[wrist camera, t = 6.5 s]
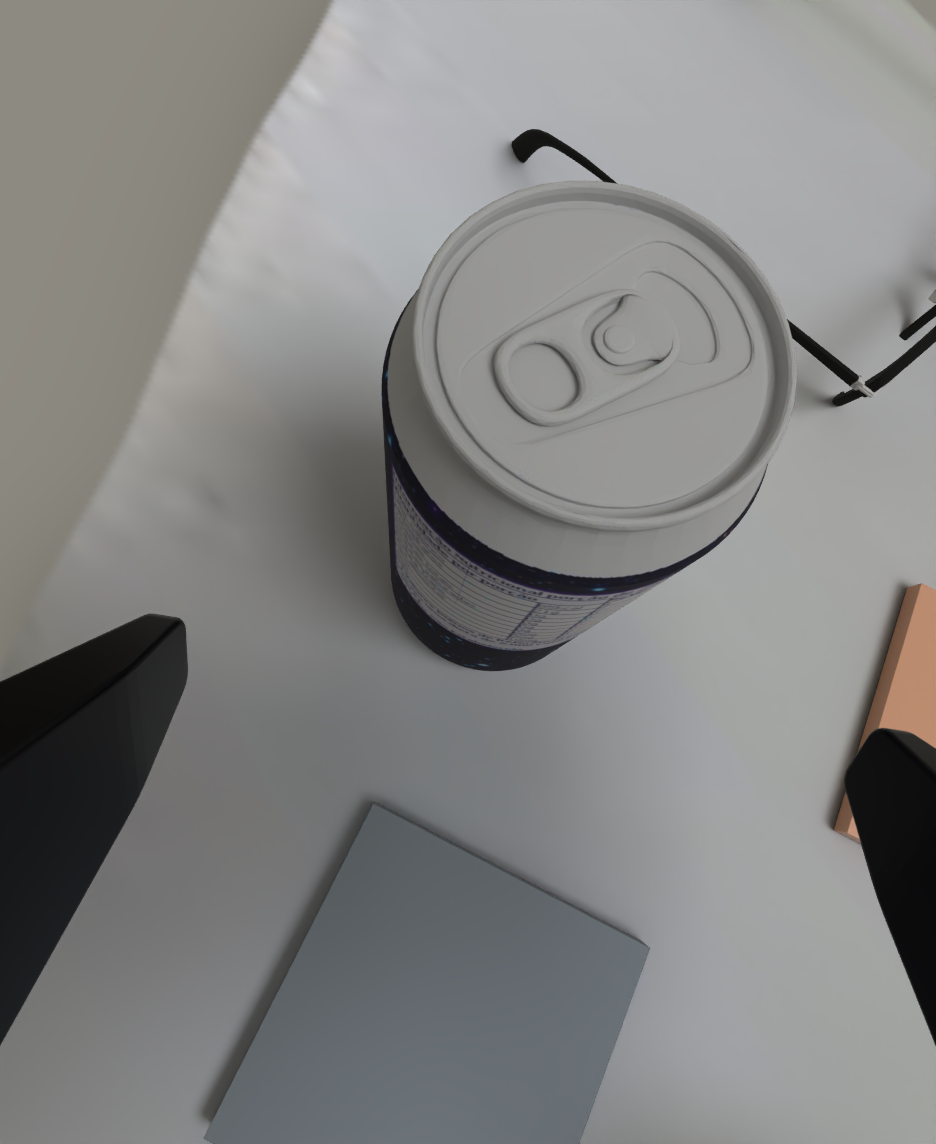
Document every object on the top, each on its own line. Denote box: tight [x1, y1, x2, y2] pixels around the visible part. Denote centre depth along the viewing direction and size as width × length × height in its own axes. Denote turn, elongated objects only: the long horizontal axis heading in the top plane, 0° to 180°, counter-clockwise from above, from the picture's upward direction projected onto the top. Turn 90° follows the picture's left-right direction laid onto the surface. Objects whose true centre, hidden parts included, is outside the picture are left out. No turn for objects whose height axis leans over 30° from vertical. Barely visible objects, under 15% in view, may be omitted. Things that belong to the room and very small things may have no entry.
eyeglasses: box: [512, 129, 936, 406], centre depth 23 cm, size 16×16×4 cm
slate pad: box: [204, 802, 650, 1144], centre depth 16 cm, size 8×8×1 cm
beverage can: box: [382, 181, 797, 671], centre depth 14 cm, size 6×6×12 cm
